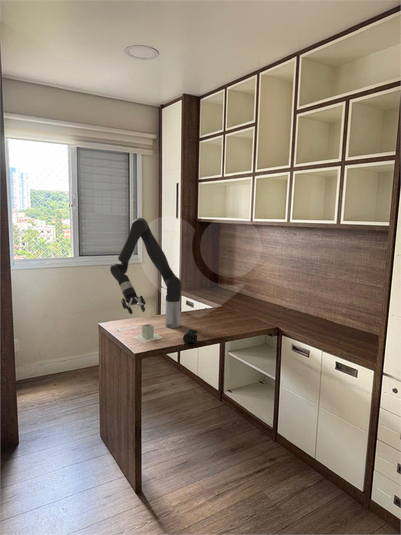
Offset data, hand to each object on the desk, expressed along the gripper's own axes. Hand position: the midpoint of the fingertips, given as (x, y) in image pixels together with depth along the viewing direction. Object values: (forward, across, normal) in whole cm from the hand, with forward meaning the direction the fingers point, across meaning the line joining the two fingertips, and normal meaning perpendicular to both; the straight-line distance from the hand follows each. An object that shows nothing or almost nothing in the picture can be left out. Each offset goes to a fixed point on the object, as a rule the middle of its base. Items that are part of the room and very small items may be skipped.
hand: (137, 312), depth 217 cm
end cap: (+30, +17, -10) cm, 36 cm away
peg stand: (+18, 0, +2) cm, 18 cm away
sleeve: (+16, 0, +1) cm, 16 cm away
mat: (+4, +1, +16) cm, 16 cm away
